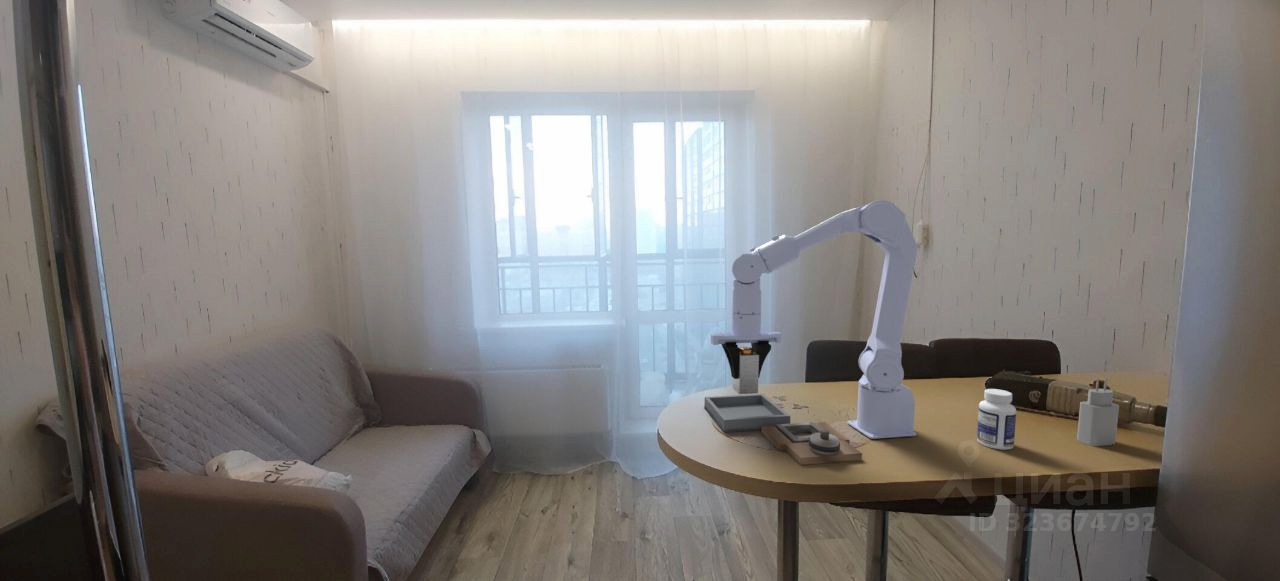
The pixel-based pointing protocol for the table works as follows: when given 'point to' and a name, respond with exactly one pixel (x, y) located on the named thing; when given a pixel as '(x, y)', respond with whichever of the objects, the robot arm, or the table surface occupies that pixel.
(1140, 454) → the table surface
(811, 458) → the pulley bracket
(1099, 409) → the power adapter
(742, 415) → the tray
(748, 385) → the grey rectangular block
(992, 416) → the pill bottle
